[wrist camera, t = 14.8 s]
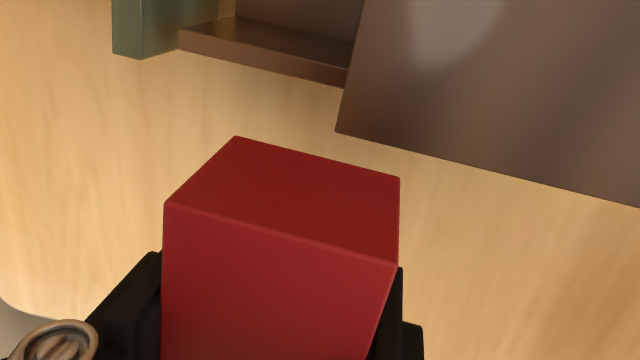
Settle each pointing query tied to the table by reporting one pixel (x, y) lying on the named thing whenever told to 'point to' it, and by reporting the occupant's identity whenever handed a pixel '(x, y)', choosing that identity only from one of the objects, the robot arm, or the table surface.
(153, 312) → the robot arm
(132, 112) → the table surface
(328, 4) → the drawer
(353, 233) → the red slab
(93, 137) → the table surface
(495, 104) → the cabinet
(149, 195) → the table surface
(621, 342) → the table surface
